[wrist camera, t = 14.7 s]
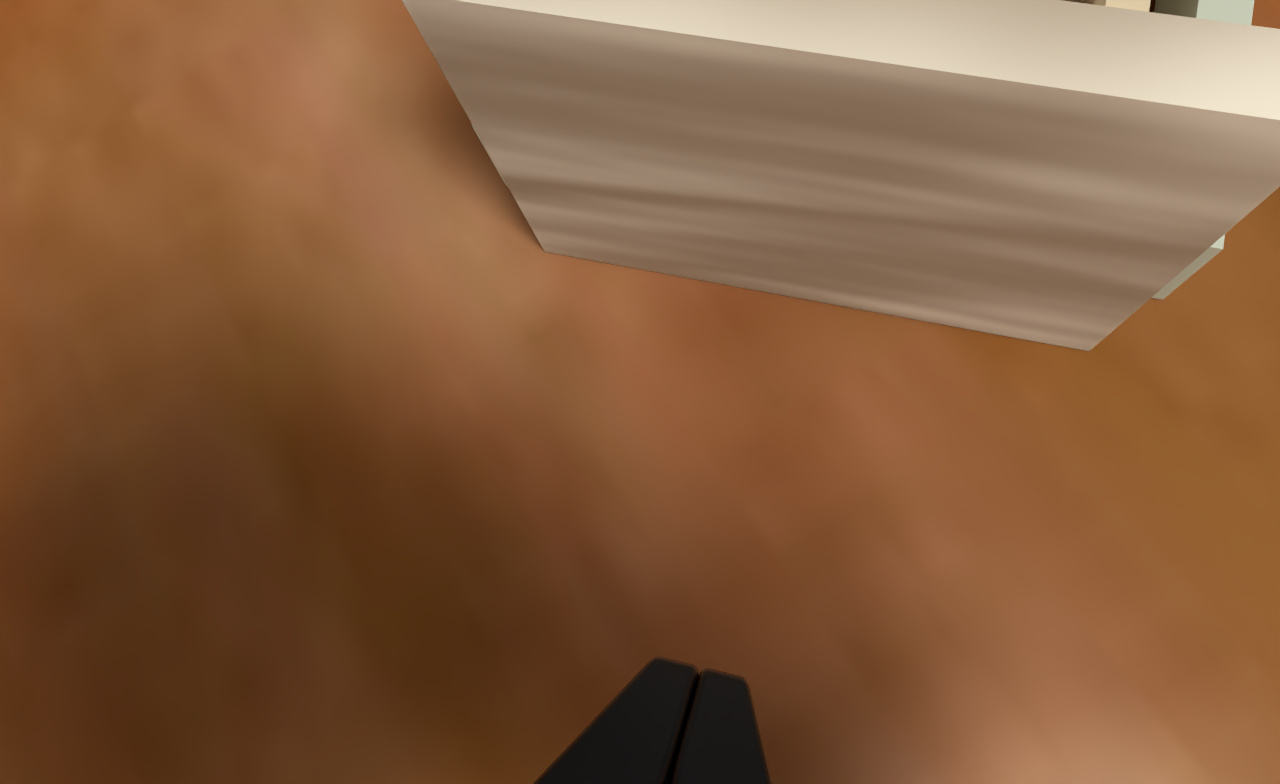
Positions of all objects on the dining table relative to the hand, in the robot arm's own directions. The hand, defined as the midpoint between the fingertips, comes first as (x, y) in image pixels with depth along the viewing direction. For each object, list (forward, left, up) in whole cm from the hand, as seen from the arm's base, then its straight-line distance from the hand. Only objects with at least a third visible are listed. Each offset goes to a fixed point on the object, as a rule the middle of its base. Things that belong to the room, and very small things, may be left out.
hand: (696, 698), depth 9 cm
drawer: (+13, +7, -13) cm, 19 cm away
